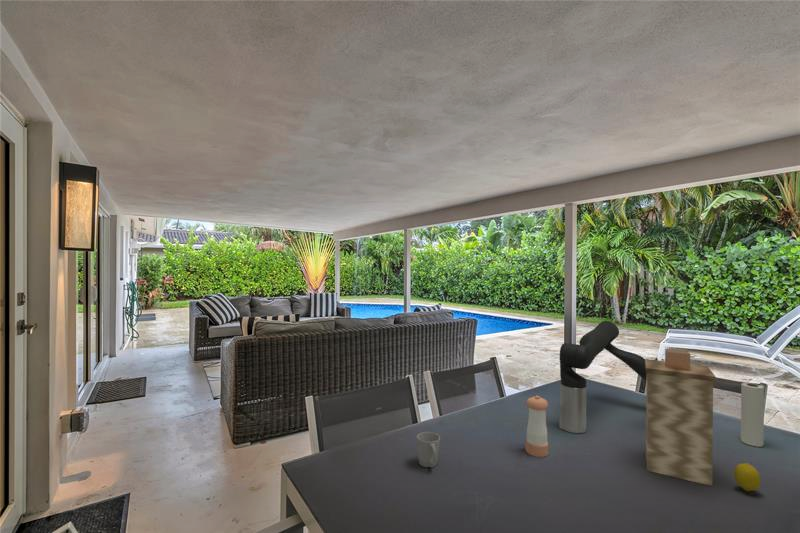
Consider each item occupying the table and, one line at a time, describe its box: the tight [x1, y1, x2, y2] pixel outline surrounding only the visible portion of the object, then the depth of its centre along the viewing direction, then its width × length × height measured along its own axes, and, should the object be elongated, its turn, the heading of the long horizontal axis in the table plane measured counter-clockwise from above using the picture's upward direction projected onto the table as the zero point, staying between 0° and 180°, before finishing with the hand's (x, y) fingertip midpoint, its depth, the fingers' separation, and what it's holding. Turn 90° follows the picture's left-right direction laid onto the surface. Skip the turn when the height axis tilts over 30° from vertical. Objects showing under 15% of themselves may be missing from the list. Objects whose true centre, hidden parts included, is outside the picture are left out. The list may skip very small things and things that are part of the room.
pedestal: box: [644, 358, 717, 487], centre depth 122 cm, size 17×15×32 cm
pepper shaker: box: [525, 395, 549, 458], centre depth 132 cm, size 7×7×19 cm
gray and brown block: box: [664, 348, 691, 370], centre depth 129 cm, size 6×22×5 cm, turn 149°
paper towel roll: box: [740, 382, 765, 448], centre depth 140 cm, size 7×6×21 cm
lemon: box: [733, 462, 761, 493], centre depth 110 cm, size 6×6×8 cm
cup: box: [415, 431, 441, 468], centre depth 122 cm, size 8×10×8 cm
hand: (670, 362), depth 143 cm, fingers open, 8 cm apart
